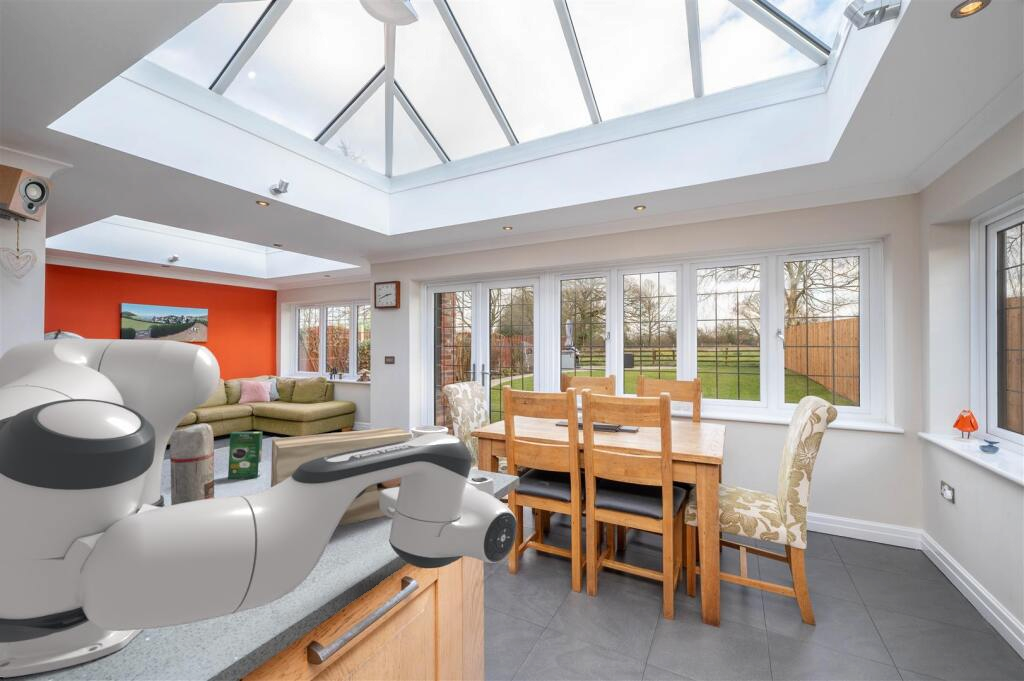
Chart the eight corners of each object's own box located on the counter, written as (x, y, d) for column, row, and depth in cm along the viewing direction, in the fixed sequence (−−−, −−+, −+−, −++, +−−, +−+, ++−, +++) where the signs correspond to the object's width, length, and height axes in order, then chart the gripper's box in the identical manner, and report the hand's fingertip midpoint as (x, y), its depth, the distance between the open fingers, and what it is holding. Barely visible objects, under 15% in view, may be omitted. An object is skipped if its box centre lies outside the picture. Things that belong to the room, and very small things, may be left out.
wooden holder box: (410, 510, 102) (411, 433, 103) (276, 538, 86) (278, 447, 86) (394, 497, 110) (396, 427, 111) (269, 521, 94) (272, 438, 94)
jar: (454, 477, 128) (455, 427, 129) (433, 487, 119) (434, 433, 119) (424, 472, 133) (425, 423, 133) (402, 482, 123) (403, 429, 124)
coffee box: (262, 475, 128) (263, 430, 128) (258, 478, 125) (260, 432, 125) (231, 476, 126) (232, 431, 126) (227, 479, 123) (228, 433, 123)
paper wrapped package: (190, 522, 93) (193, 429, 94) (159, 518, 95) (162, 427, 95) (223, 508, 102) (226, 422, 102) (194, 504, 103) (197, 420, 104)
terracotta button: (402, 486, 100) (403, 464, 100) (381, 489, 97) (381, 467, 97) (394, 480, 104) (395, 459, 104) (374, 483, 101) (374, 462, 101)
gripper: (393, 536, 70) (367, 509, 81) (499, 511, 81) (463, 490, 93) (394, 497, 70) (368, 475, 81) (500, 477, 82) (464, 460, 93)
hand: (420, 483), depth 87 cm, fingers closed
